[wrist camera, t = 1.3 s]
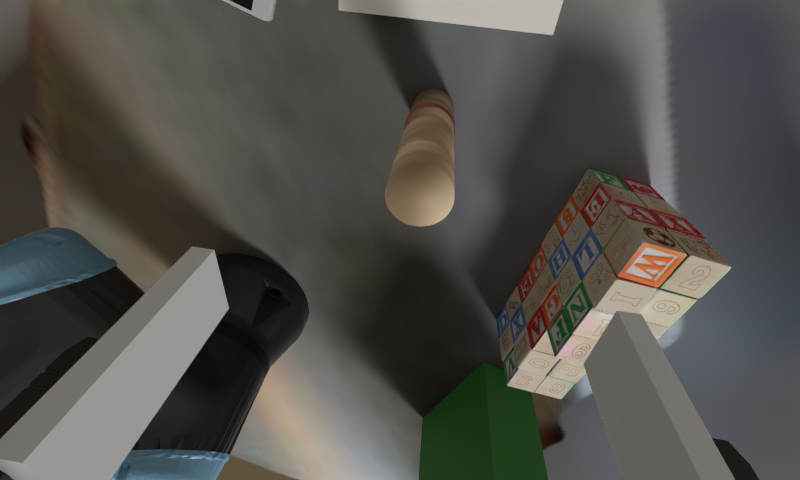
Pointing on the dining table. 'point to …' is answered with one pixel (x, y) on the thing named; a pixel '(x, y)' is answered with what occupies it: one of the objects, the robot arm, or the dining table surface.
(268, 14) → the smartphone
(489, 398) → the hardback book
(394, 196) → the beech peg
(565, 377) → the stack of blocks
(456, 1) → the hole board
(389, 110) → the dining table surface
